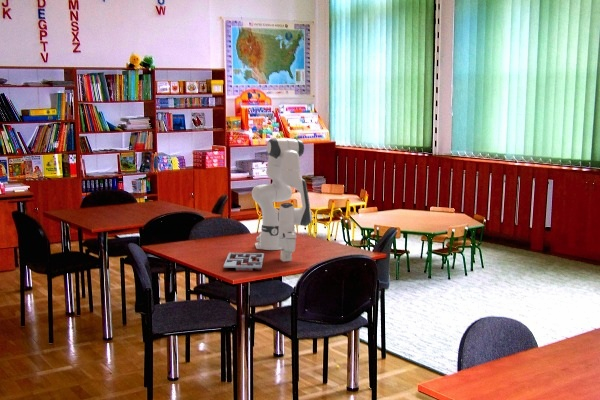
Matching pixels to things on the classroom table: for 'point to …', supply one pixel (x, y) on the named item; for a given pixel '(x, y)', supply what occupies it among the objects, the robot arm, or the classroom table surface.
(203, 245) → the classroom table surface
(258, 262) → the maze game
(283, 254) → the cream cube
